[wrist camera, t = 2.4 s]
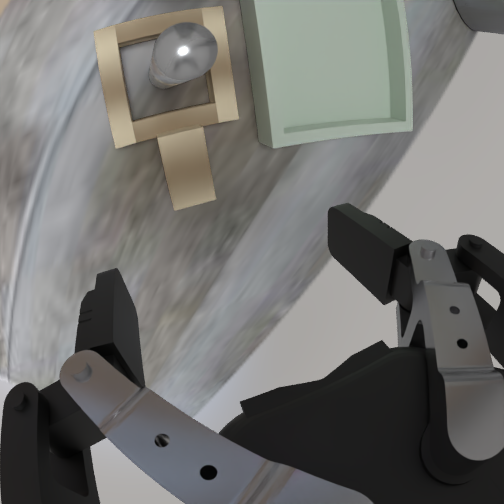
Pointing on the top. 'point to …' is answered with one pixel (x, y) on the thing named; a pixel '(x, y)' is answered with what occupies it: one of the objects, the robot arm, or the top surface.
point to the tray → (328, 68)
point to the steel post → (182, 54)
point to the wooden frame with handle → (176, 121)
